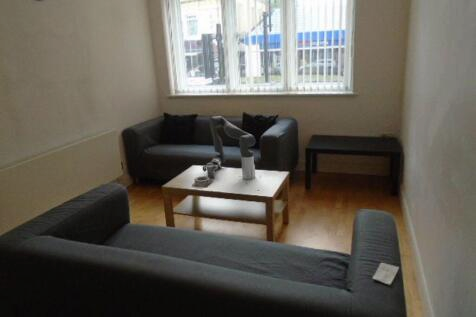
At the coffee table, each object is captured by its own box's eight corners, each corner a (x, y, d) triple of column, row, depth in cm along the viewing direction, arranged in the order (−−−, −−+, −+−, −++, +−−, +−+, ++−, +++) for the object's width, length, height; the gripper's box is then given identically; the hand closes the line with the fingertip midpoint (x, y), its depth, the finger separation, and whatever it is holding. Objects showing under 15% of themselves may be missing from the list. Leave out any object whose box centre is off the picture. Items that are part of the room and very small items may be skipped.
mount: (213, 181, 283) (212, 176, 282) (206, 187, 272) (206, 182, 271) (199, 180, 287) (198, 175, 286) (191, 186, 276) (191, 180, 275)
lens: (215, 177, 292) (214, 162, 289) (212, 179, 288) (211, 164, 285) (209, 177, 294) (208, 162, 291) (206, 179, 290) (205, 164, 286)
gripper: (205, 159, 303) (200, 165, 288) (223, 159, 300) (218, 165, 285) (206, 168, 305) (201, 175, 290) (223, 168, 302) (219, 175, 287)
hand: (209, 170), depth 287 cm, fingers open, 8 cm apart
